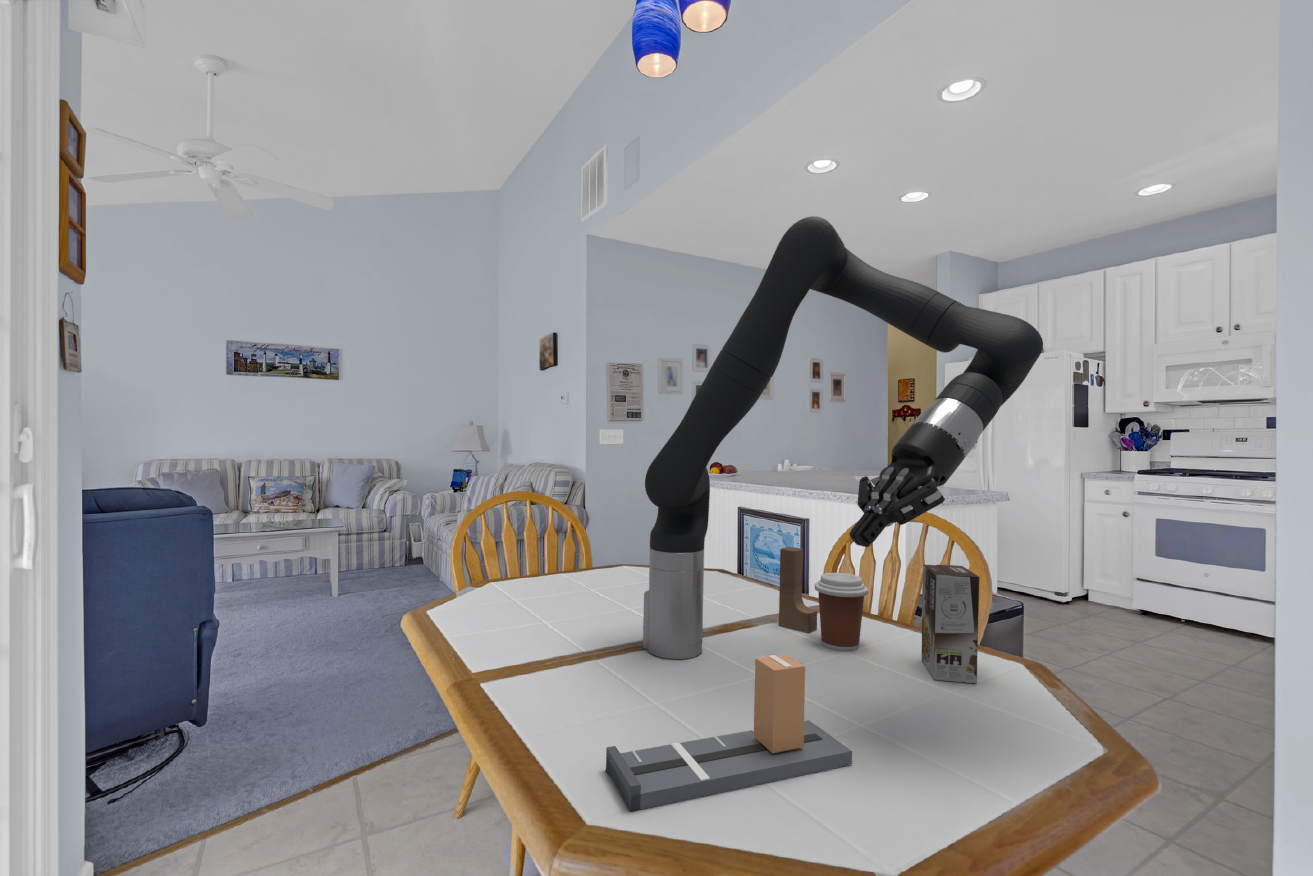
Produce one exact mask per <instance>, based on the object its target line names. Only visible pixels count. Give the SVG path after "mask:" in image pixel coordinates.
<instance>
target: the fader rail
mask: <svg viewBox="0 0 1313 876" xmlns="http://www.w3.org/2000/svg"><path fill="white" fill-rule="evenodd" d="M605 749H606V751H605V752H606V753H605V756H606V757H605V770H606V772H607V774H608V776H609V777H610V779H611V781H612V783H613V784H614V786H615V788H616V789H617V791H618V793H619V794H620V796H621V798H622V800H623V801H624V803H625V805H626V806H627V808H628V810H629V812H630V813H631V812H635V811H641V810H645V809H650V808H654V807H659V806H663V805H668V804H673V803H678V802H682V801H687V800H691V799H696V798H697V799H698V798H701V797H705V796H706V797H707V796H711V795H716V794H720V793H725V792H729V791H733V790H739V789H743V788H749V787H752V786H758V785H763V784H767V783H772V782H777V781H781V780H786V779H791V778H795V777H799V776H805V775H809V774H814V773H818V772H823V771H827V770H832V769H838V768H841V767H846V766H851V765H853V751H852V750H851V749H850V748H849V747H847V746H846V745H844V744H843V743H842V742H841V741H839V740H838V739H836V738H835V737H833V735H830V734H829V733H828V732H826V731H825V730H824V729H822V728H820V726H818V725H817V724H815V723H813V722H812V721H811V720H809V719H808V720H804V747H802V748H797V749H792V750H787V751H781V752H776V753H772V752H771V751H769V750H768V749H767V748H766V747H765V746H764V745H763V744H762V743H760V742H759V741H758V740H757V739H756V738H755V737H754V729H750V730H744V731H740V732H734V733H728V734H723V735H717V736H712V737H711V736H710V737H705V738H704V737H703V738H699V739H695V740H689V741H688V740H687V741H683V742H680V741H679V742H674V743H671V744H665V745H660V746H654V747H650V748H649V747H648V748H644V749H637V750H631V751H625V752H620V751H619V749H618V748H617V746H616V745H612V746H607V747H606V748H605Z"/></svg>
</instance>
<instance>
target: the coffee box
mask: <svg viewBox="0 0 1313 876" xmlns="http://www.w3.org/2000/svg"><path fill="white" fill-rule="evenodd" d="M921 589H922V593H921V594H922V595H921V596H922V598H921V601H922V602H921V604H922V605H921V606H922V608H921V662H922V663H923V665H924V666H925V668H926V670H927V671H928V673H929V674H930V676H931V677H932V678H933V680H936V681H945V682H947V681H948V682H956V683H963V682H965V684H972V683H976V684H977V682H978V681H977V680H978V676H977V675H978V648H979V647H978V645H979V643H978V642H979V640H978V639H979V614H980V613H979V612H980V610H979V607H980V605H979V604H980V576H979V575H977V574H976V573H974V572H972V571H971V570H969V569H968V568H966V567H964V566H963V565H954V564H953V565H951V564H936V565H935V564H923V565H922V588H921Z"/></svg>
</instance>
